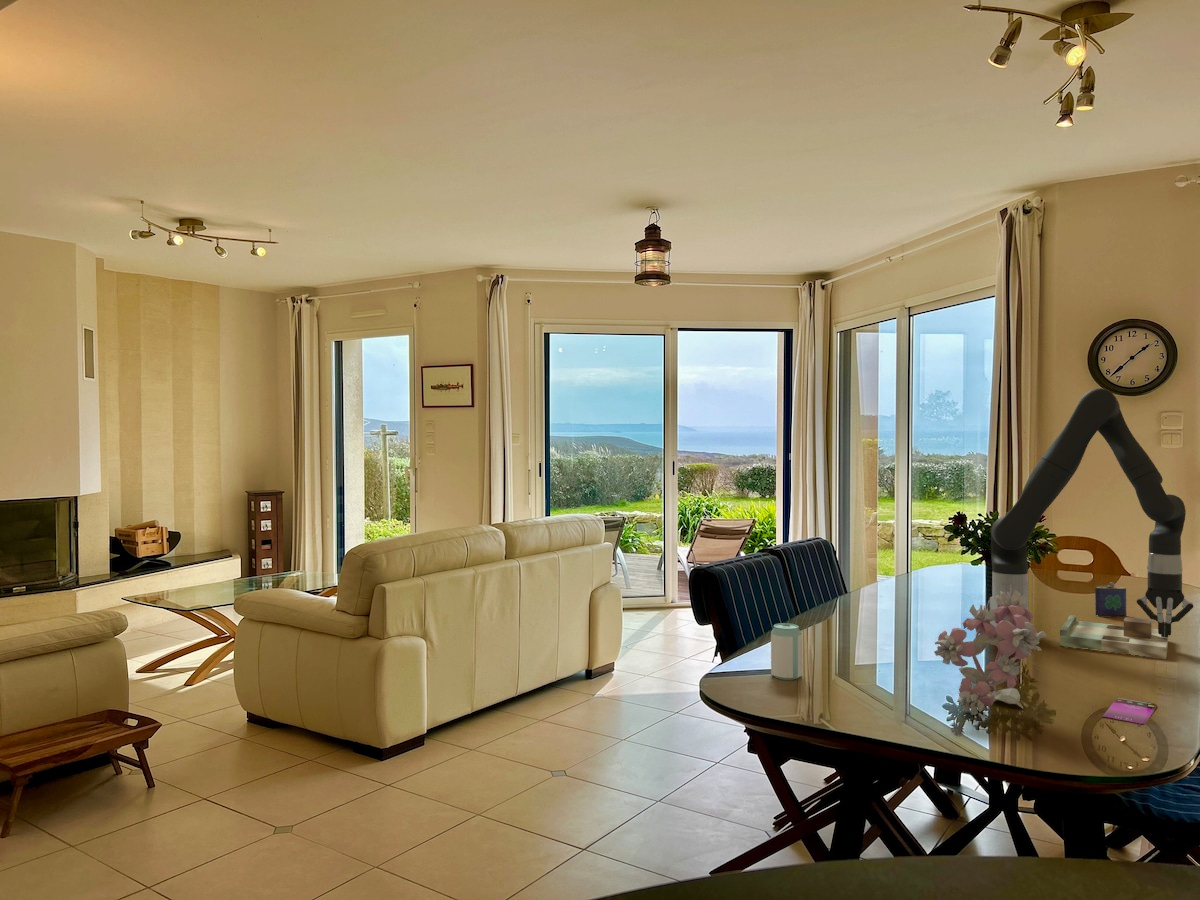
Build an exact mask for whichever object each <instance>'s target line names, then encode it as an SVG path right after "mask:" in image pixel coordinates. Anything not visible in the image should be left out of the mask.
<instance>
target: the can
mask: <svg viewBox="0 0 1200 900" xmlns="http://www.w3.org/2000/svg"><path fill="white" fill-rule="evenodd" d="M799 628H800V627H799V625H797V624H794V623H784V622H783V623H775V624H774V625H773V627H772V630H771V631H770V673H771V675H772V676H774V677H775V678H776V679H779V680H784V681H793V680H794V681H795V680H798V678H800V677H802V675H803V663H802V661H803V660H802V659H803V655H802V654H803V653H802V651H803V649H802V647H803V646H802V643H803V642H802V641H803V640H802V639H803V638H802V637H803V636H802V635H803V634H802V632H801V630H800V629H799Z"/></svg>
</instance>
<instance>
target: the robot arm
mask: <svg viewBox="0 0 1200 900" xmlns="http://www.w3.org/2000/svg"><path fill="white" fill-rule="evenodd" d="M1097 432H1098V433H1099V434H1100V435H1101V436H1102V437H1103V439H1104V440H1105V441H1106V443H1107V444H1108V446H1109V447H1110V449H1111V451H1112V452H1113V455H1114V456H1115V459H1116V461H1117V462H1118V464H1119V466H1120V467H1121V470H1122V472H1123V473H1124V474H1125V476H1126V477H1127V480H1128V481H1129V482H1130V484H1131V485H1132V487H1133V488H1134V491H1135V494H1136V497H1137V499H1138V502H1139V505H1140V507H1141V509H1142V511H1143V512H1144V514H1145V515H1146V516H1147V517H1148V518H1149V519H1150V520H1152V521H1154V528H1153V530H1152V531H1151V532H1150V533H1149V536H1148V556H1147V566H1146V568H1147V569H1146V570H1147V589H1146V591H1145V593H1144V594H1145V595H1143V596H1142V597H1139V598H1137V599H1136V604H1137V605H1138V606H1139V607H1140V608H1141V609H1142V611H1144V613H1145V614H1146V615H1147V617H1149V618H1150V620H1154V621H1156V622H1157V629H1158V633H1159V634H1161V637H1168V638H1169V636H1171V635H1172V624H1173V623H1177V622H1180V620H1182V619H1183V618H1184V617H1185V616H1186V615H1188V613H1189V612H1190V611H1192V609H1193V608H1194V603H1192V602H1190V601H1189V600H1187V599H1186V598H1185V595H1184V593H1183V561H1182V545H1181V544H1182V540H1181V538H1182V534H1183V530H1184V524H1185V521H1186V514H1187V513H1186V512H1187V511H1186V506H1185V503H1184V501H1183V500H1182V498H1180V497H1179V496H1178V495H1175V494H1167V493H1166V491H1165V490H1164V488H1163V485H1162V483H1163V477H1162V474H1161V473H1160V471H1159V470H1158V468H1157V467H1156V465H1155V463H1154V462H1153V461H1152V459H1151V457H1150V456H1149V455H1148V454H1147V452H1146V451H1145V449H1144V448H1143V447H1142V445H1140V443H1139V442H1138V441H1137V438H1135V437H1134V435H1133V434H1132V431H1131V430H1130V429H1129V427H1128V424H1127V423H1126V421H1125V419H1124V415H1123V413H1122V410H1121V406H1120V403H1119V401H1118V399H1117V397H1116V396H1115V394H1113V393H1112V392H1111V391H1110V390H1109V389H1106V388H1093V389H1091V390H1089V391H1088V392H1086V393H1084V394H1083V396H1082V397H1081V398H1080V400H1079V401H1078V403H1077V405H1076V407H1075V409H1074V411H1073V413H1072V414H1071V417H1069V420H1068V422H1067V423H1066V425H1065V426H1064V427H1063V429H1062V431H1061V432H1060V433H1059V434H1058V435H1057V437H1055V439H1054V441H1053V442H1052V443H1051V444H1050V446H1049V447H1048V449H1047V450H1046V451H1045V453H1043V455H1042V456H1041V458H1040V459H1039V461H1037V464H1036V465H1035V467H1034V468H1033V469H1032V471H1031V473H1030V475H1029V476H1028V479H1027V480H1026V483H1025V484H1024V488H1023V490H1022V492H1021V494H1020V495H1019V497H1018V499H1017V501H1016V502H1015V503H1014V505H1013V506H1012V507H1011V509H1010V510H1009V511H1008V512H1007V513H1006V514H1005V515H1004V516H1001V517H999V518H997V519H996V520H995V521H994V522H993V524H992V525H991V530H990V532H991V533H990V541H991V542H990V545H991V546H990V547H991V549H990V550H991V569H992V571H991V573H992V576H991V577H992V578H991V579H992V584H991V585H992V586H991V590H992V592H991V593H992V594H991V595H992V596H990V597H989V600H990V602H989V610H990V611H991V610H992V609H996V608H998V607H1001V606H1000V605H999V604H998V603H996V598H995V597H996V596H997V595H999V596H1000V597H1001V595H1000V591H1002V592H1003V593H1005V592H1006V594H1007V592H1009V594H1010V585H1011V596H1012V595H1013V591H1014V590H1016V591H1018V592H1019V593H1020V594H1021V595H1020V597H1021V596H1022V595H1023V594H1024V596H1025V599H1026V601H1025V604H1024V605H1022V606H1020V607H1023V608H1024V609H1026V610H1028V611H1029V563H1028V558H1027V557H1028V555H1027V542H1028V540H1029V539H1030V537H1031V536H1032V534H1033V531H1034V529H1035V528H1036V527H1037V525H1038V522H1039V520H1040V519H1041V517H1042V516H1043V514H1044V513H1045V512H1046V510H1047V509H1048V508H1049V507H1050V506H1051V505H1052V504H1053V502H1054V501H1055V500H1056V499H1057V497H1058V496H1059V495H1060V493H1061V492H1062V491H1063V490H1064V488H1066V486H1067V485H1068V483H1069V482H1070V480H1071V479H1072V478H1073V477H1074V475H1075V473H1076V471H1077V470H1078V468H1079V466H1080V464H1081V462H1082V460H1083V457H1084V456H1085V455H1084V454H1085V453H1086V449H1087V448H1088V446H1089V443H1090V442H1091V440H1092V439H1093V437H1094V436H1095V434H1096V433H1097ZM1148 602H1149V603H1150V604H1151V605H1152V606H1153V608H1154V609H1156V614H1155V613H1154V612H1153V610H1152V609H1151V608H1150V607H1149V605H1148ZM1181 603H1182V604H1181ZM1180 604H1181V608H1182V609H1181V610H1179V611H1178V612H1177V613H1176V614H1175V615H1174V616H1173V611H1174V610H1176V608H1178V607H1179V605H1180ZM990 608H991V609H990ZM1164 610H1166V613H1165V617H1164ZM1023 617H1025V616H1023ZM1025 618H1026V617H1025ZM1164 618H1165V619H1164ZM1004 620H1006V621H1009V622H1010V620H1009V619H1008V616H1006V617H1005V619H1004ZM1164 620H1165V621H1164ZM989 623H990V624H992V625H993V626H994V627H995V628H996V626H997V625H998V624H997V623H996V622H995V621H990V622H989ZM1016 627H1017V626H1016Z"/></svg>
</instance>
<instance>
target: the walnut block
mask: <svg viewBox="0 0 1200 900" xmlns="http://www.w3.org/2000/svg"><path fill="white" fill-rule="evenodd" d="M1152 623H1153V622H1152V619H1148V618H1140V617H1138V618H1137V617H1129V616H1128V617H1127V616H1126V617H1125V616H1124V619H1123V626H1124V636H1128V637H1138V638H1147V639H1151V635H1152V629H1153V628H1152Z"/></svg>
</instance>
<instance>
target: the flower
mask: <svg viewBox="0 0 1200 900" xmlns="http://www.w3.org/2000/svg"><path fill="white" fill-rule="evenodd" d="M1000 595H1001V597H1000V596H999V595H997V596H996V597H995V598H996V603H998V604H999V605H1000V606H1001V607H998V608H996V609H992V610H991V611H990V609H991V608H990V607H989V605H990V599H987V604H986V605H982V604H979V608H978V609H977V608H976V607H975V605H974V603H972V605H971V607H970V609H969V611H968V612H969V613H970V615H972V617H974V618H970V617H968V618H965V620H964V621H962V623H961V624H962V627H963V629H962V628H959V627H954V628H952V629H951V631H950V634H949V635H948V631H946V630H944V631H942V632H941V633H939V635H938V638H937V641H935V642H934V645H937V646H936V650H935V651H933V652H934V655H935V656H936V657H937V656H940V657H941V658H942V664H945V665H951V664H950V663H952V665H954V666H956V667H959V668H958V670H959V672H960V674H962V676H963V678H961V681H960V686H959V688H958V691H959V693H958V696H959V697H958V699H957V701H956V703H958V704H960V705H959V706H958V707H959V708H960V707H962V710H961V712H962V713H964V712H968V711H969V710H970V711H971V712H970V715H972V716H973V715H977V714H979V713H980V712H981V711H982V710H983V709H984V708H985V707H990V706H993V704H994V702H996V701H1000V702H1002V703H1006V704H1008V705H1017V706H1018V707H1020V708H1021V709H1022V710H1023V709H1024V707H1023V705H1022V704H1021V702H1020V700H1021V694H1020V692H1019V689H1017V688H1015V686H1017V682H1018V677H1017V676H1019V674H1020V672H1021V671H1020V669H1021V668H1022V666H1021V665H1020V664H1019V663H1020V661H1016V660H1025V659H1026V658H1028V657H1032V650H1033V651H1038V652H1040V651H1042V648H1041V647H1040V646H1039V644H1040V640H1041V639H1042V638H1047V637H1048V636H1047V634H1046V632H1045V631H1044V630H1041V631H1040V632H1038V631H1037V630H1036V628H1035V627H1034V626H1035V624H1033V623H1032V621H1033V619H1034V616H1033V614H1032V612H1031V610H1029V609H1028V610H1026V609H1024V608H1023V607H1020V606H1022V605H1024V604H1025V601H1026V599H1025V596H1024V594H1023V595H1022V596H1021V597H1020V595H1021V594H1020V593H1019V592H1018V591H1016V590H1014V591H1013V595H1012V596H1011V585H1010V594H1009V592H1007V594H1006V592H1005V593H1003V592H1002V591H1000ZM1006 616H1008V619H1009V620H1010V622H1009V621H1006V620H1004V619H1005V617H1006ZM1023 616H1025V617H1026V618H1025V617H1023ZM990 621H995V622H996V623H997V624H998V625H997V626H996V628H995V627H994V626H993V625H992V624H990ZM1016 626H1017V627H1016ZM974 629H975V633H976V634H975V638H974V639H973V640H972V641H964V640H965V639H966V638H967V631H966V630H969V631H971V632H972V631H973V630H974ZM990 645H992V646H996V647H997V652H996V655H995V659H994V661H990V662H989V663H986V665H985V671H990V672H989V674H988V675H986V674H985V673H984V670H983V668H982V665H981V664H980V662H979V660H978V658H977V656H979V655H980V654H982V653H983V652H984V650H986V649H987V648H988V646H990ZM1013 654H1014V656H1013V657H1011V656H1012V655H1013ZM963 657H966V658H972V659H973V662H974V666H975V667H970V666H967V665H969V662H968V661H966V660H965V659H964V658H963ZM1009 657H1010V659H1009ZM1015 661H1016V662H1015ZM1005 682H1006V686H1007V687H1006V688H1004V689H1002V688H1001V689H998V690H997V686H999V685H1001V684H1003V683H1005ZM973 684H974V687H973V686H972V685H973ZM978 711H979V712H978Z"/></svg>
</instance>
